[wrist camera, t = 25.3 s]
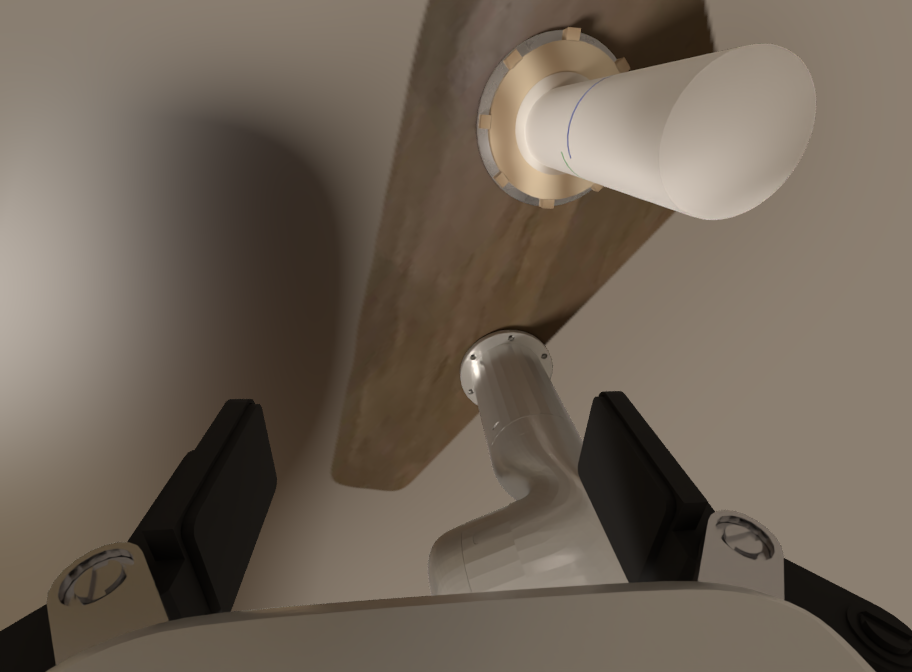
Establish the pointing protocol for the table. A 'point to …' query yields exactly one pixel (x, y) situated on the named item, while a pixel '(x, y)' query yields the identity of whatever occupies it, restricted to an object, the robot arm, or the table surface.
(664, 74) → the cylindrical container
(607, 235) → the table surface
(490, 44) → the table surface
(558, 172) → the dial
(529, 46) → the dial base
